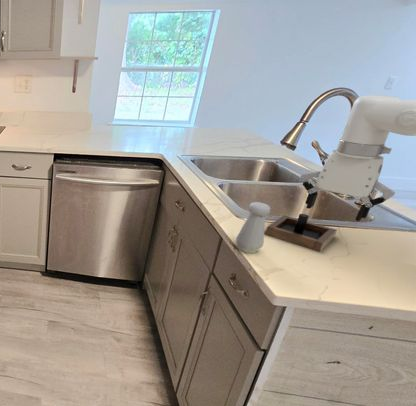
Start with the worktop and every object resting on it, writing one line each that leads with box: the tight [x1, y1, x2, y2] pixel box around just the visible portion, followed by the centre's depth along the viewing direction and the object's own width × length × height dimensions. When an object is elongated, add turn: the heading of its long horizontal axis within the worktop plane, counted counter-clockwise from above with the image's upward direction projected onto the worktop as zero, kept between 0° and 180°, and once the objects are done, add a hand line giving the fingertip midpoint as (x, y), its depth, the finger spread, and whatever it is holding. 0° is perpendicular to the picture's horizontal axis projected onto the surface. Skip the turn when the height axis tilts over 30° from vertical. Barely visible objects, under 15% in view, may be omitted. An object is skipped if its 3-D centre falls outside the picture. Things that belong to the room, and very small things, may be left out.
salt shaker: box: [235, 201, 271, 254], centre depth 93 cm, size 6×6×13 cm
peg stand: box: [280, 213, 321, 240], centre depth 101 cm, size 8×8×6 cm
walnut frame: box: [264, 215, 338, 252], centre depth 101 cm, size 12×12×2 cm
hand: (333, 213), depth 94 cm, fingers open, 9 cm apart
